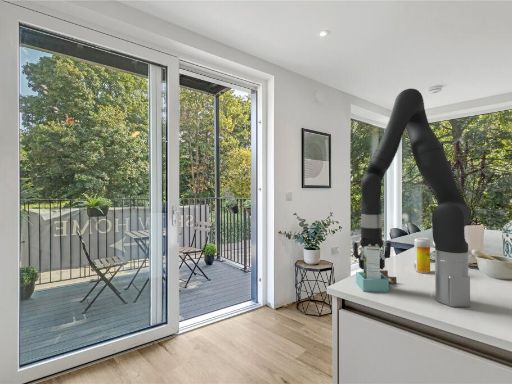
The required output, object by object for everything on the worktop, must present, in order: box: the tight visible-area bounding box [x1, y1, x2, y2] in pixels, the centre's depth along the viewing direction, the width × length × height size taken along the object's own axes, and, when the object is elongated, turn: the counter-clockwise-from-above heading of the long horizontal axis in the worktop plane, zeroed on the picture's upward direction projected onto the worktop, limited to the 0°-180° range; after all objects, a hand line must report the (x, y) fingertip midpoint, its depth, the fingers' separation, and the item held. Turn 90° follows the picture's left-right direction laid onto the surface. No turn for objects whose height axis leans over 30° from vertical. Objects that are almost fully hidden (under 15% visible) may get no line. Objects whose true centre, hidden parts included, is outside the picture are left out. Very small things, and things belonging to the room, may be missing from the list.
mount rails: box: [380, 269, 397, 284], centre depth 118 cm, size 12×6×2 cm, turn 177°
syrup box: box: [363, 246, 381, 279], centre depth 111 cm, size 6×6×14 cm
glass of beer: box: [413, 236, 431, 275], centre depth 129 cm, size 6×6×15 cm
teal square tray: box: [355, 271, 390, 293], centre depth 111 cm, size 9×9×4 cm
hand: (371, 268), depth 111 cm, fingers closed on syrup box, 6 cm apart
